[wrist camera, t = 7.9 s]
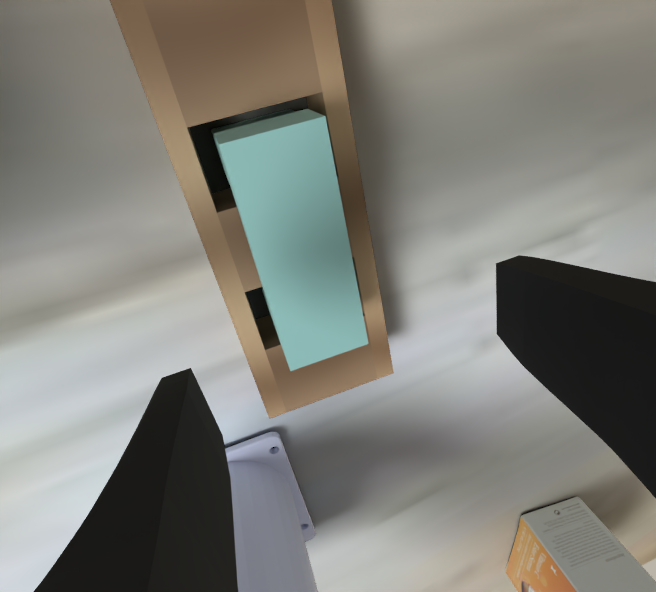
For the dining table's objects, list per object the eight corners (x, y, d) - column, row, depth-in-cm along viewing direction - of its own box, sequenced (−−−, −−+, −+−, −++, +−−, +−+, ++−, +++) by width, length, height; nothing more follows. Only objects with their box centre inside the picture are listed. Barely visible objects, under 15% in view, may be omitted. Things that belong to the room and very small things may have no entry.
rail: (373, 343, 23) (393, 373, 21) (260, 383, 22) (269, 418, 20) (302, -37, 15) (323, -52, 13) (117, 3, 14) (107, -6, 12)
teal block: (329, 284, 21) (368, 343, 16) (266, 305, 20) (290, 371, 16) (287, 100, 17) (325, 115, 12) (207, 120, 16) (218, 144, 12)
